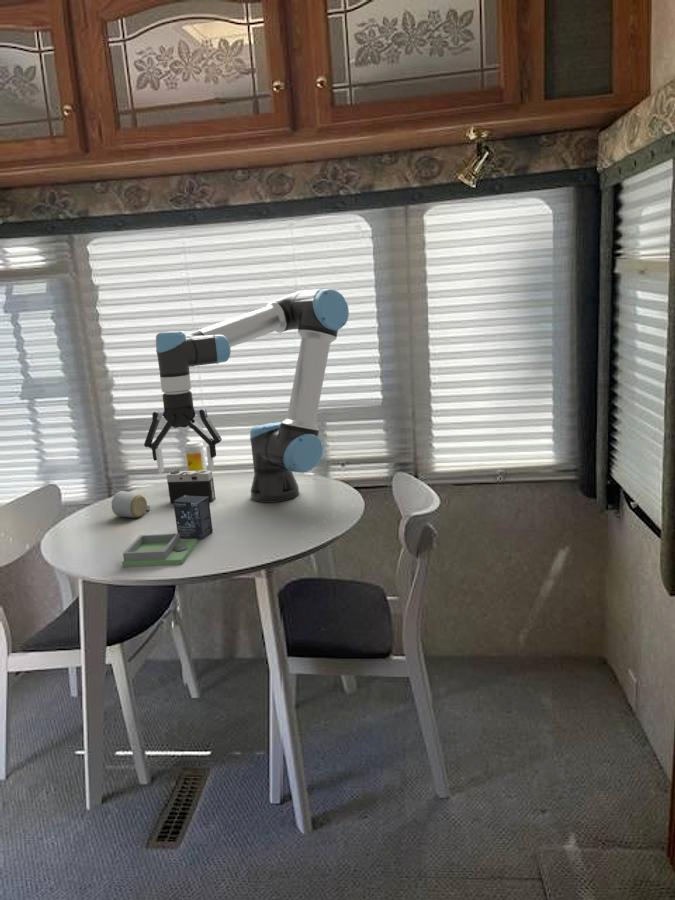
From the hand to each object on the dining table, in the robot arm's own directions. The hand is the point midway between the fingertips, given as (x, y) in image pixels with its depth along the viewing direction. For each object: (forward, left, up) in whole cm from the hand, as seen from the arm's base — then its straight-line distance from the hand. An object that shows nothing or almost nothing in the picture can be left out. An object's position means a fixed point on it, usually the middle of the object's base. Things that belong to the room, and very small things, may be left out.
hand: (186, 470), depth 184 cm
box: (0, 0, -19) cm, 19 cm away
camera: (+9, -34, -19) cm, 39 cm away
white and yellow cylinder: (+12, -50, -19) cm, 55 cm away
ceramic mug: (+24, -21, -19) cm, 37 cm away
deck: (+5, +13, -18) cm, 23 cm away
